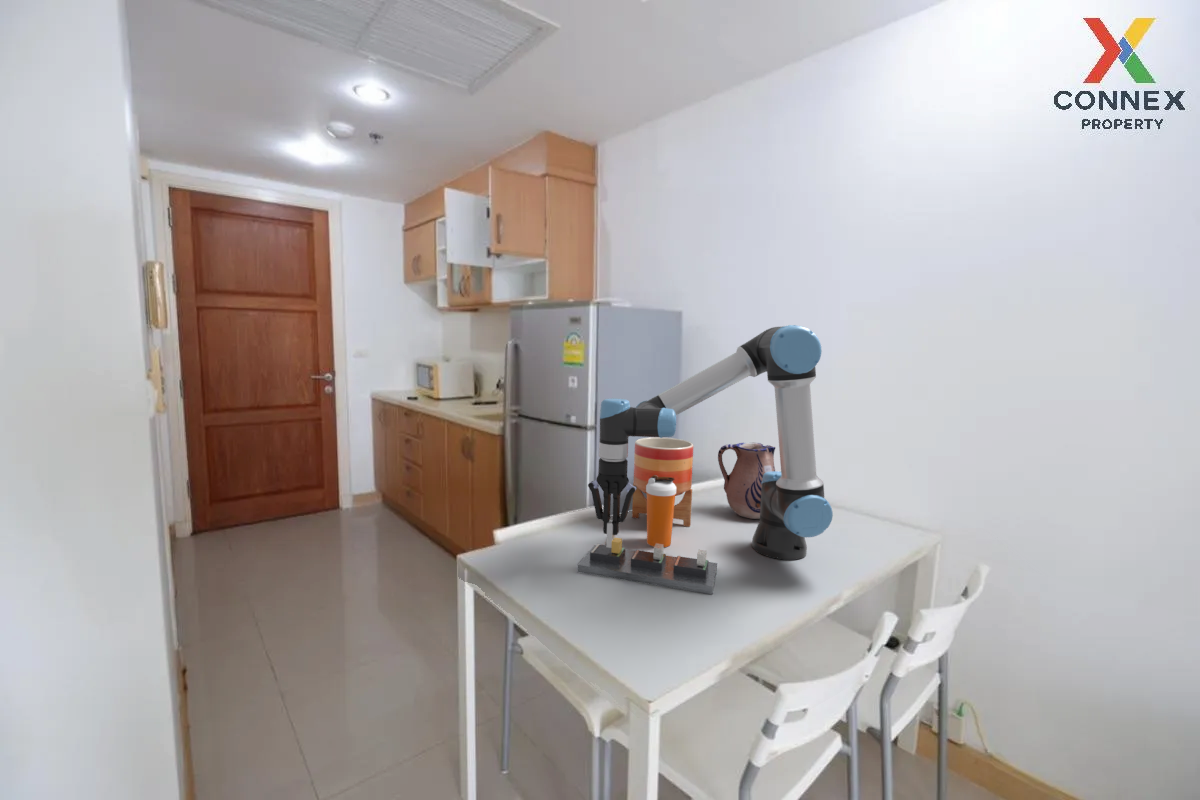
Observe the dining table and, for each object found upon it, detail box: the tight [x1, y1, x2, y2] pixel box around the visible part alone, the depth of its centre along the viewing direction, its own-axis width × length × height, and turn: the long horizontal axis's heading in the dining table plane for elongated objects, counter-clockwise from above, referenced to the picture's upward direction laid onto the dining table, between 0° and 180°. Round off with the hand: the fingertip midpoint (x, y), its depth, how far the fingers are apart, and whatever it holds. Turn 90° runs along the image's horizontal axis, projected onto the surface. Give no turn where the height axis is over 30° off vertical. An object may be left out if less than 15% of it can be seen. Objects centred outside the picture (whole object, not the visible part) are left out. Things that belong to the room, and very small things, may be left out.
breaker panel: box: [576, 543, 718, 595], centre depth 134 cm, size 34×14×7 cm, turn 73°
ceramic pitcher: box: [717, 442, 776, 520], centre depth 180 cm, size 18×21×25 cm
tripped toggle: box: [611, 537, 623, 554], centre depth 136 cm, size 2×3×3 cm, turn 163°
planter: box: [631, 437, 694, 528], centre depth 171 cm, size 20×20×27 cm
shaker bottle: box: [645, 475, 676, 548], centre depth 152 cm, size 9×9×20 cm
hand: (610, 545), depth 137 cm, fingers closed
